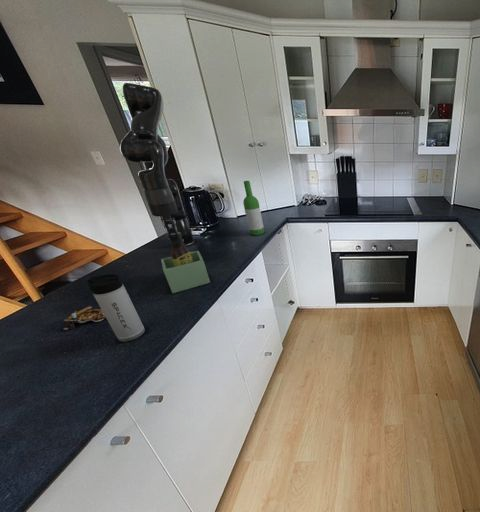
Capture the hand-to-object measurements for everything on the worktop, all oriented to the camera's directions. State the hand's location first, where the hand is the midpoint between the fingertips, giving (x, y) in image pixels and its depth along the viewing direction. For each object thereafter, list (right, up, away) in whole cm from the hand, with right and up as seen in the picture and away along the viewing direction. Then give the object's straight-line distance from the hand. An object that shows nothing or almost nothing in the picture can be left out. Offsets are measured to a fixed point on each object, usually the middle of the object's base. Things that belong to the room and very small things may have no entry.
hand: (176, 245), depth 103 cm
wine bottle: (+5, +9, +55) cm, 56 cm away
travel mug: (+2, -28, -20) cm, 35 cm away
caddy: (0, -15, +7) cm, 16 cm away
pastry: (-17, -25, -14) cm, 33 cm away
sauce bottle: (0, -14, +7) cm, 15 cm away
